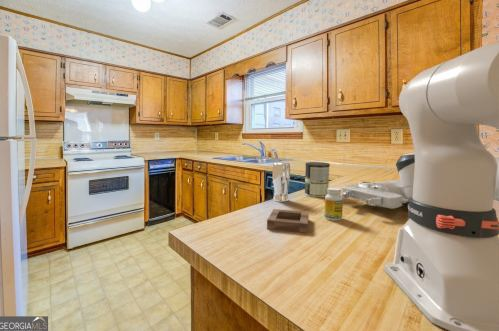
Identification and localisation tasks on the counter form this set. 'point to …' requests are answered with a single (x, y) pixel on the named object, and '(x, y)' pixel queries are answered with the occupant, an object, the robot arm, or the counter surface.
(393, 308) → the counter surface
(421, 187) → the robot arm
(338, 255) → the counter surface
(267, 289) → the counter surface
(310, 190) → the coffee can
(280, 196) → the beer glass
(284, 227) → the bottle holder
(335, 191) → the supplement bottle
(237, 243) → the counter surface
